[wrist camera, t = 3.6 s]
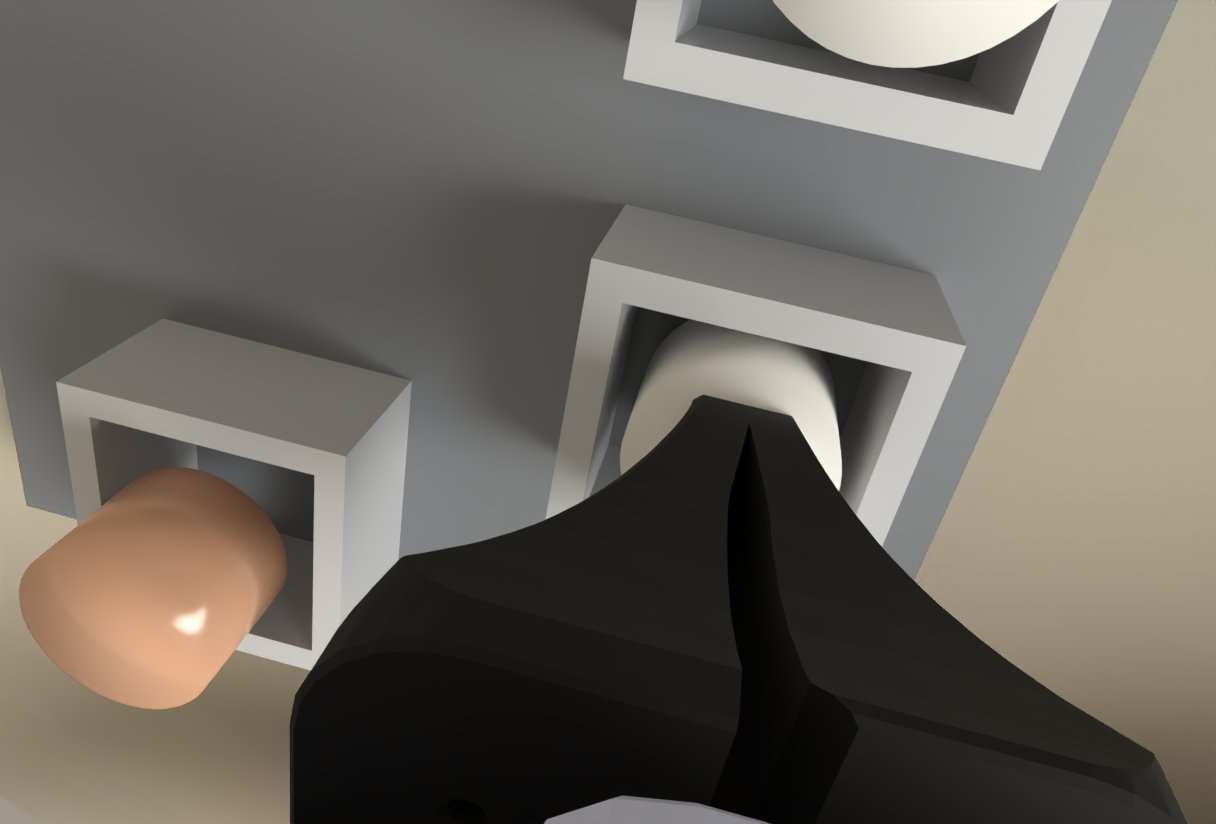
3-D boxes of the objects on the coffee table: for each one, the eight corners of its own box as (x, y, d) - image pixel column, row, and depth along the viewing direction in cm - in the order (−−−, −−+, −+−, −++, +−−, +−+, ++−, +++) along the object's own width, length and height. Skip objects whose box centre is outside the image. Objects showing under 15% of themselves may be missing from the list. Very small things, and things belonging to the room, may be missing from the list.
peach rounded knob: (287, 632, 15) (216, 729, 13) (128, 588, 16) (35, 678, 14) (286, 493, 14) (206, 580, 12) (110, 446, 14) (3, 525, 12)
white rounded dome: (802, 497, 14) (805, 582, 13) (627, 453, 15) (602, 529, 13) (860, 335, 13) (873, 401, 11) (663, 288, 13) (642, 346, 11)
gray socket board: (841, 657, 19) (856, 846, 15) (90, 458, 21) (-81, 584, 17) (1252, -307, 11) (1521, -454, 7) (-46, -536, 12) (-457, -772, 8)
